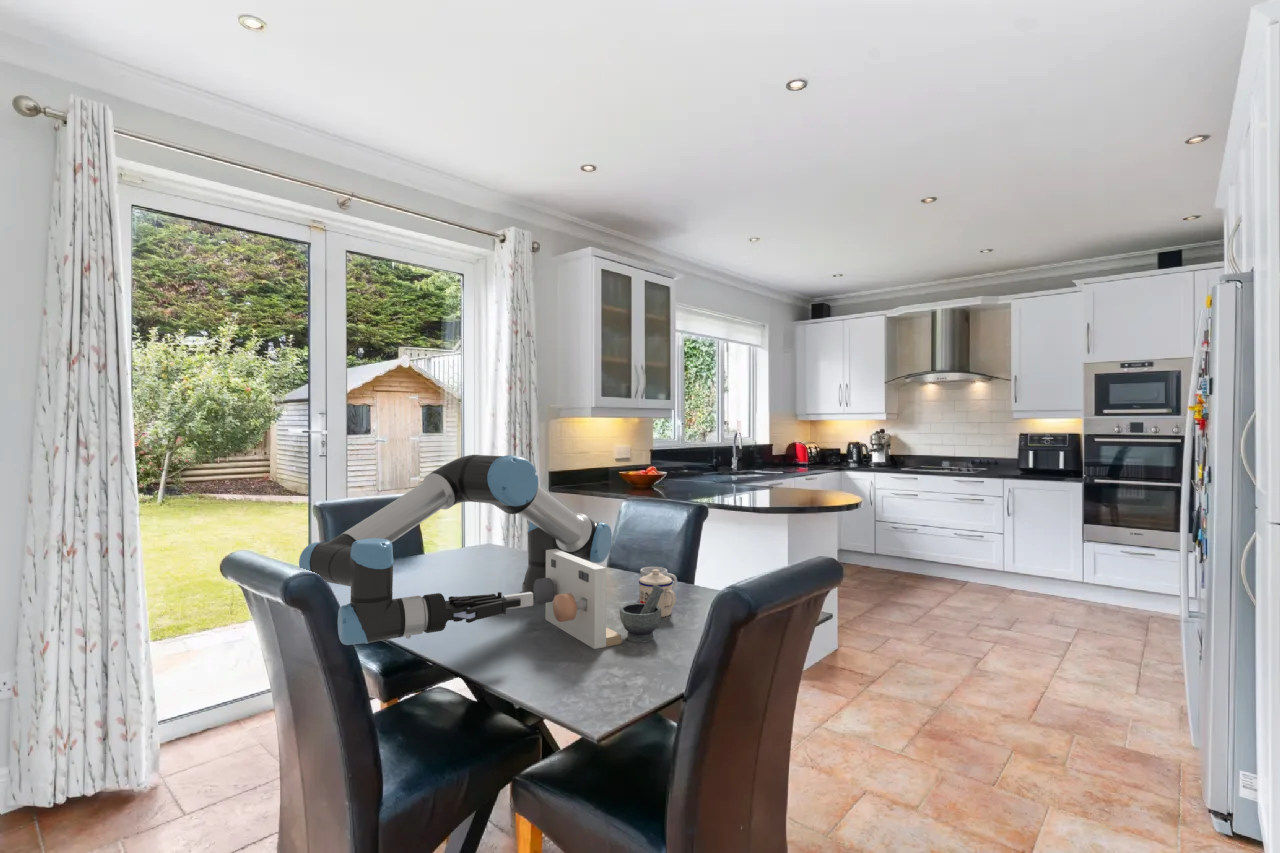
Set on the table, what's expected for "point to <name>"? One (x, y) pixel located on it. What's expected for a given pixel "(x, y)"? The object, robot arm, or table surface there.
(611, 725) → the table surface
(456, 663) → the table surface
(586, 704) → the table surface
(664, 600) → the teacup with lid
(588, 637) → the button panel
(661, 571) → the cup
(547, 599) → the charcoal button
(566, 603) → the terracotta button
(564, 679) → the table surface
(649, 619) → the mortar and pestle
